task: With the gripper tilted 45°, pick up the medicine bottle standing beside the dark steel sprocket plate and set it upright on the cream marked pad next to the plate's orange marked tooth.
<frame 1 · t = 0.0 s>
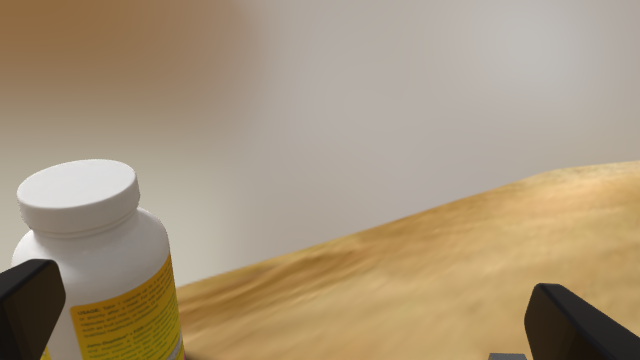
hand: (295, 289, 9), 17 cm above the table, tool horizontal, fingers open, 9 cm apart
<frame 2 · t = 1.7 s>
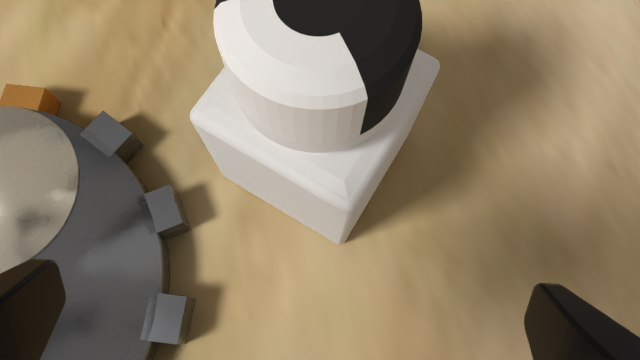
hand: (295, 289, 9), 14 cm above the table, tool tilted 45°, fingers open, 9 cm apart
medicine bottle: (316, 155, 24), on the table
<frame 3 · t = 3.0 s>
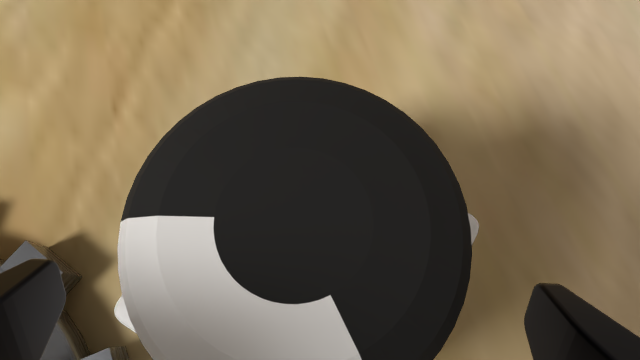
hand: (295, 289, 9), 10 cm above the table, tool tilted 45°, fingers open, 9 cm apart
medicine bottle: (307, 290, 19), on the table
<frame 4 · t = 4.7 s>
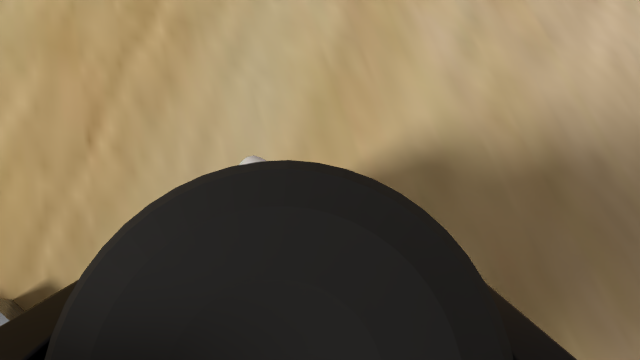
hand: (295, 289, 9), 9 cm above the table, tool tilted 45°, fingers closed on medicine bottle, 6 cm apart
medicine bottle: (302, 348, 17), on the table, touching gripper
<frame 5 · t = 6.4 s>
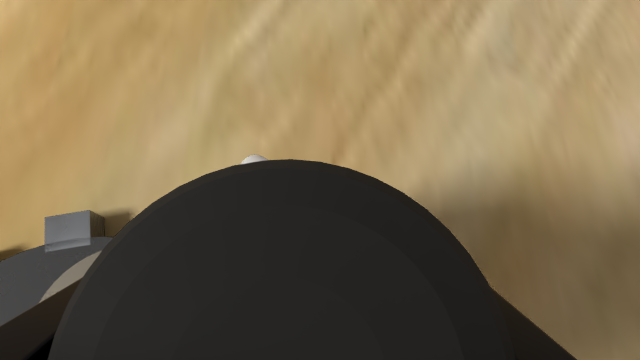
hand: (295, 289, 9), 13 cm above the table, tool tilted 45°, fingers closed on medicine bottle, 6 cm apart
medicine bottle: (303, 346, 17), point 4 cm above the table, touching gripper
when the fingers open (11 cm above the table, at t = 8.3 s): medicine bottle stays where it is, resting on sprocket plate.
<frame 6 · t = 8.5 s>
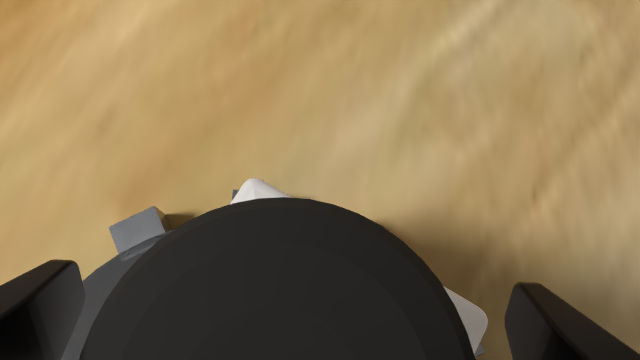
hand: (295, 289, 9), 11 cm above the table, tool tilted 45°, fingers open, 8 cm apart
medicine bottle: (303, 351, 18), point 2 cm above the table, touching sprocket plate
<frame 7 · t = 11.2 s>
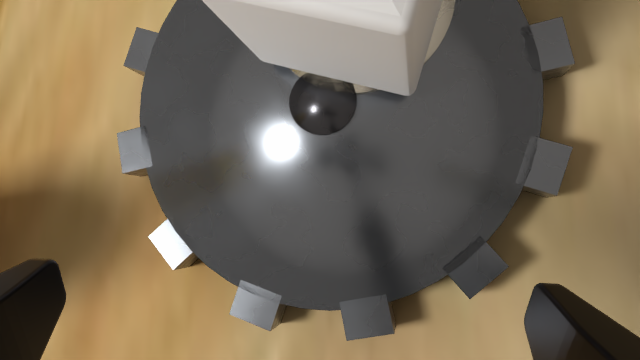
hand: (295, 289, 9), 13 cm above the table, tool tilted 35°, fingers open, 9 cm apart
medicine bottle: (357, 5, 21), point 2 cm above the table, touching sprocket plate
sprocket plate: (329, 109, 22), on the table
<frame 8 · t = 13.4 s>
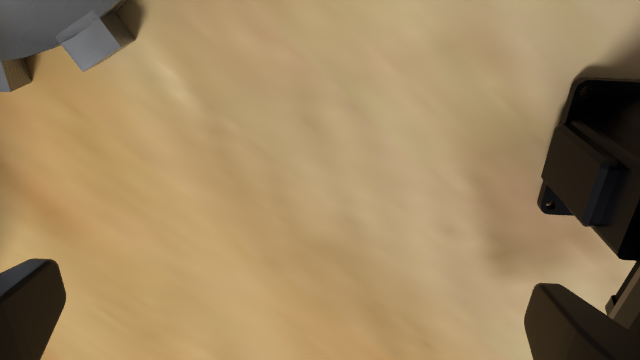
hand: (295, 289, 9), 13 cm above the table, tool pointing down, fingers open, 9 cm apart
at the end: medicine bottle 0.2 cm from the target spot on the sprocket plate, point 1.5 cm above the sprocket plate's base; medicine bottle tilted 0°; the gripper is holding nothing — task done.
